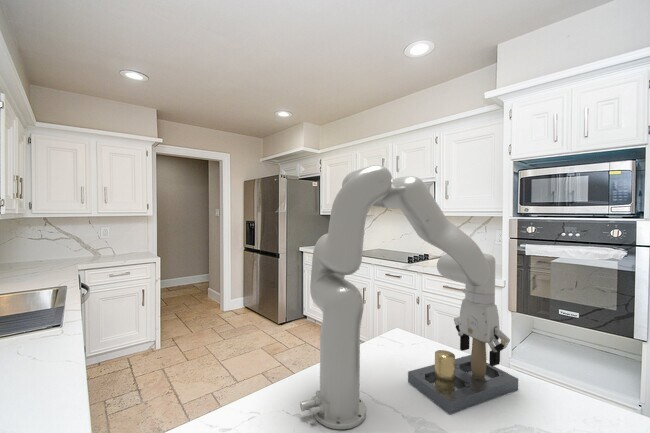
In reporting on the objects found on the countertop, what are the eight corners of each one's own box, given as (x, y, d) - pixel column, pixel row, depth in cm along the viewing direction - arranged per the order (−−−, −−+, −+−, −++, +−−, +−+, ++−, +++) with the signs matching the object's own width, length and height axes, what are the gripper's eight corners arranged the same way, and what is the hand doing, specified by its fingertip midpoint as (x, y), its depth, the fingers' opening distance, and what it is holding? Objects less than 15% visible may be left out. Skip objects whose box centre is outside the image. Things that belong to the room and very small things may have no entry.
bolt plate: (449, 414, 72) (449, 402, 72) (408, 381, 86) (408, 371, 86) (518, 389, 82) (518, 378, 82) (471, 364, 96) (471, 354, 96)
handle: (493, 387, 83) (494, 332, 83) (467, 383, 85) (468, 330, 85) (488, 377, 88) (489, 326, 88) (464, 374, 90) (465, 324, 90)
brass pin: (444, 398, 78) (445, 360, 78) (430, 388, 83) (430, 352, 82) (458, 394, 80) (459, 356, 80) (444, 384, 85) (444, 348, 84)
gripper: (446, 291, 93) (445, 346, 93) (499, 307, 77) (498, 374, 77) (464, 288, 96) (463, 342, 96) (518, 304, 80) (517, 368, 80)
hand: (478, 356), depth 87 cm, fingers open, 9 cm apart
